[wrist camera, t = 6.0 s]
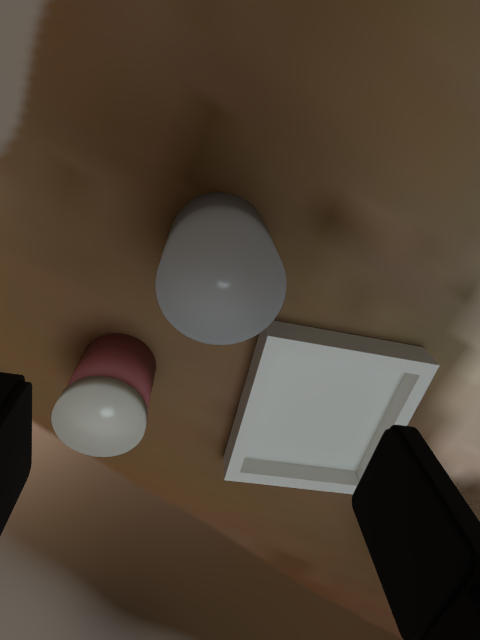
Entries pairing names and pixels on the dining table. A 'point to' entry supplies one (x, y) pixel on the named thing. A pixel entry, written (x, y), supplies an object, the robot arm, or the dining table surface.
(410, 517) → the robot arm
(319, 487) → the tray
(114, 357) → the jam jar
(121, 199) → the dining table surface
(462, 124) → the dining table surface
